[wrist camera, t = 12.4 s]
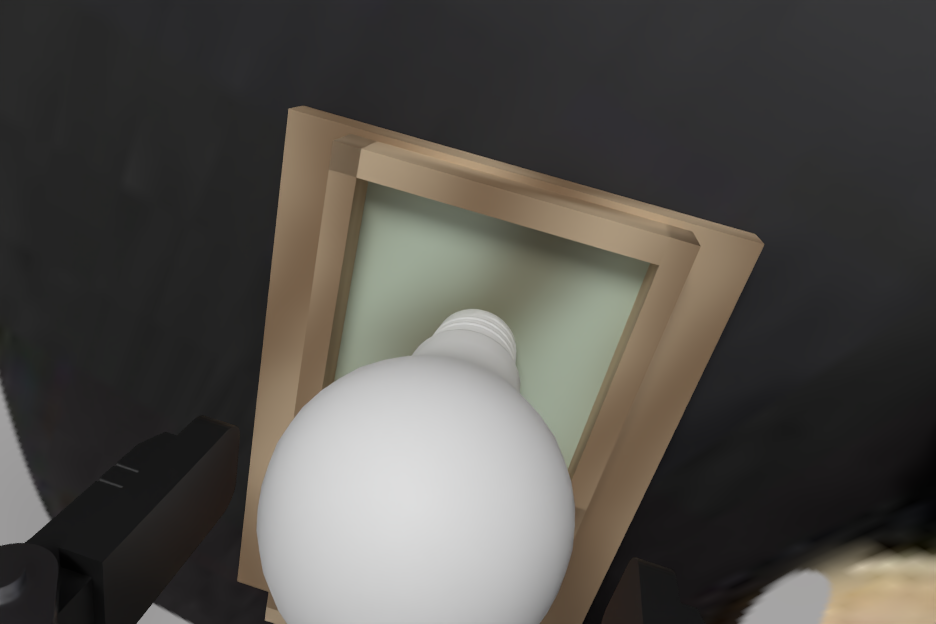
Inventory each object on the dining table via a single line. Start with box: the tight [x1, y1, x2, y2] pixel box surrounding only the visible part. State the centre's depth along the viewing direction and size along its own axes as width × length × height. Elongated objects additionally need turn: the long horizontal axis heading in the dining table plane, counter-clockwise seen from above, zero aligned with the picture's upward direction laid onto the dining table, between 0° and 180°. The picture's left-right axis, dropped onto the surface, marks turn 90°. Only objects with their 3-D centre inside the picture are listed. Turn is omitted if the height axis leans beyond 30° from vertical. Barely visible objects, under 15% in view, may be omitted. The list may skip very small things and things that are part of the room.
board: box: [237, 106, 764, 624], centre depth 21 cm, size 14×20×2 cm
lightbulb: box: [256, 309, 575, 624], centre depth 14 cm, size 6×6×11 cm
